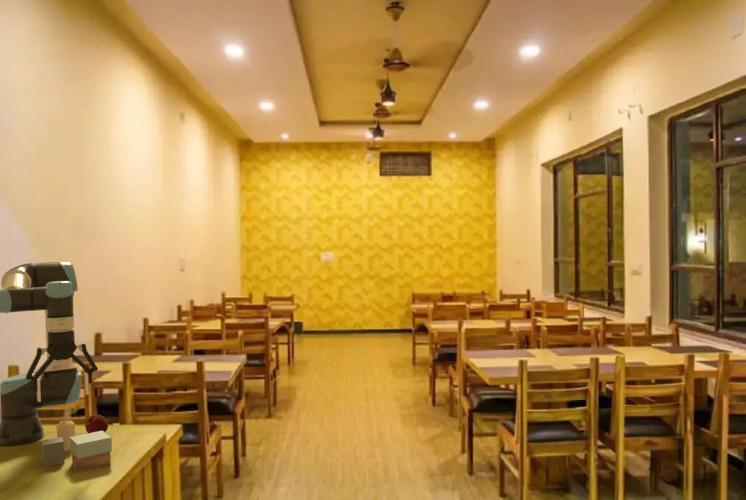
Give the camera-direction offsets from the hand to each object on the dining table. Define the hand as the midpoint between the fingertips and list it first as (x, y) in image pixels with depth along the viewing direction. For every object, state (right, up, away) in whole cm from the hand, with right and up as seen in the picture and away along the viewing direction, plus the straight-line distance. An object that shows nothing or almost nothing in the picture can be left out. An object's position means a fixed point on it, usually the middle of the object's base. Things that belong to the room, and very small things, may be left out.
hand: (63, 397), depth 195 cm
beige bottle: (-8, -22, +18) cm, 29 cm away
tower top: (+8, -18, +2) cm, 19 cm away
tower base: (+8, -22, +1) cm, 24 cm away
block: (-6, -22, +5) cm, 23 cm away
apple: (-4, -22, +32) cm, 39 cm away
